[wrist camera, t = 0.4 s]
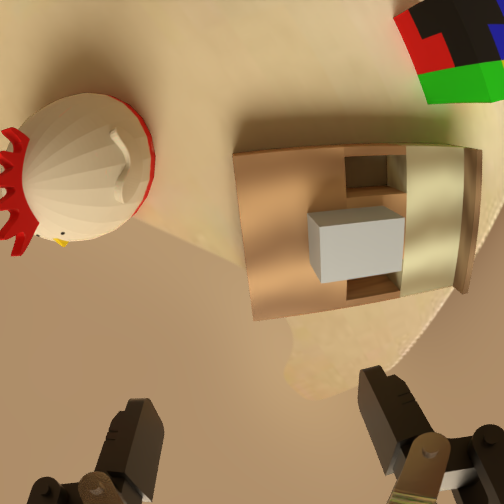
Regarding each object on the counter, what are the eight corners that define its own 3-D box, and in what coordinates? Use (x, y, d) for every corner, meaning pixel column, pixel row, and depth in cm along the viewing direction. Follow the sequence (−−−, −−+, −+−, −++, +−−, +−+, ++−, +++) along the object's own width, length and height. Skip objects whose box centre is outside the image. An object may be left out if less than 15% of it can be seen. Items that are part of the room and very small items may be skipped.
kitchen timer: (45, 234, 29) (-42, 299, 15) (32, 110, 24) (-73, 115, 10) (161, 227, 30) (106, 308, 16) (153, 84, 25) (80, 45, 11)
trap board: (232, 153, 27) (232, 158, 22) (446, 144, 28) (482, 150, 22) (251, 300, 33) (254, 333, 27) (439, 270, 33) (467, 292, 28)
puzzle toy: (455, 13, 22) (509, -6, 12) (484, 89, 25) (544, 89, 16) (392, 18, 23) (446, -12, 13) (427, 104, 26) (491, 102, 17)
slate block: (307, 213, 26) (319, 227, 22) (383, 205, 26) (404, 217, 22) (309, 262, 27) (321, 283, 24) (381, 252, 27) (401, 270, 24)
